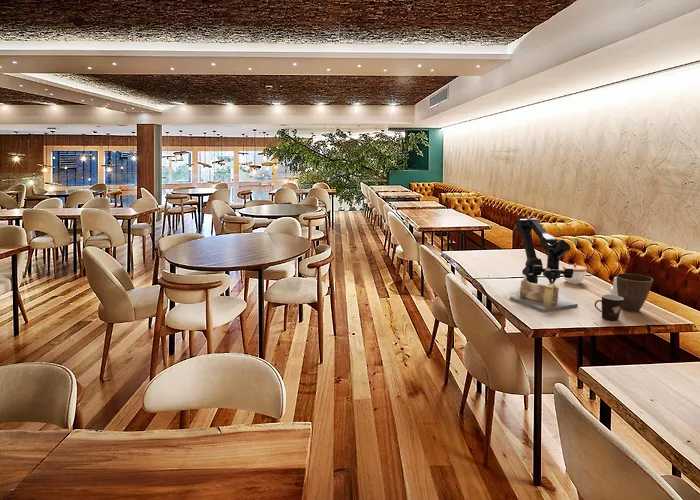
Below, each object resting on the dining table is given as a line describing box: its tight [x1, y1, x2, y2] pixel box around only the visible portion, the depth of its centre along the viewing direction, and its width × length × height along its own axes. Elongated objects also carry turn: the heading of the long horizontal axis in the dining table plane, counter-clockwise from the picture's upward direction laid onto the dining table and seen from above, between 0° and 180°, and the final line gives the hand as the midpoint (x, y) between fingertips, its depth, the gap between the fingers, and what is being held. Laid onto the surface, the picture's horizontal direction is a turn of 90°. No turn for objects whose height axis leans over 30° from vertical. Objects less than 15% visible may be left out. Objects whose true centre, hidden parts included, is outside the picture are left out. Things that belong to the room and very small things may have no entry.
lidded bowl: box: [562, 263, 588, 285], centre depth 274 cm, size 13×13×11 cm
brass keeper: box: [543, 282, 558, 307], centre depth 227 cm, size 3×8×11 cm, turn 141°
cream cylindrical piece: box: [609, 276, 618, 296], centre depth 240 cm, size 9×9×12 cm
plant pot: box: [616, 273, 654, 313], centre depth 224 cm, size 15×15×16 cm
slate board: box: [509, 294, 579, 313], centre depth 234 cm, size 22×22×2 cm
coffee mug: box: [594, 294, 624, 322], centre depth 212 cm, size 12×9×10 cm
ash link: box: [519, 279, 560, 304], centre depth 233 cm, size 18×4×8 cm, turn 51°
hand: (551, 286), depth 237 cm, fingers closed
